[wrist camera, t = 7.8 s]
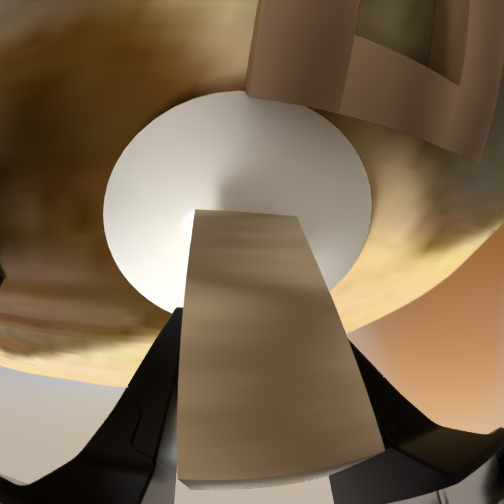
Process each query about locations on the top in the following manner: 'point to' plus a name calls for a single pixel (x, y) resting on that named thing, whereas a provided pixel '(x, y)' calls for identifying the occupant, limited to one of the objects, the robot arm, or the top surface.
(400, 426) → the robot arm
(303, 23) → the holder
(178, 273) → the plate
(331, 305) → the block
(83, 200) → the top surface
